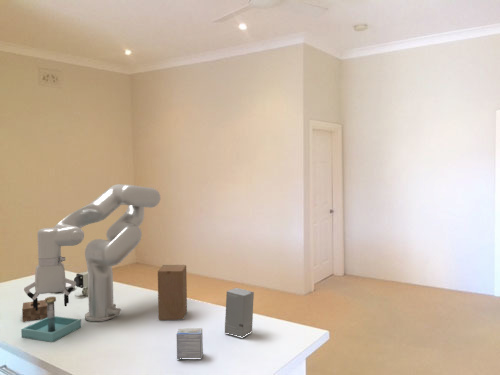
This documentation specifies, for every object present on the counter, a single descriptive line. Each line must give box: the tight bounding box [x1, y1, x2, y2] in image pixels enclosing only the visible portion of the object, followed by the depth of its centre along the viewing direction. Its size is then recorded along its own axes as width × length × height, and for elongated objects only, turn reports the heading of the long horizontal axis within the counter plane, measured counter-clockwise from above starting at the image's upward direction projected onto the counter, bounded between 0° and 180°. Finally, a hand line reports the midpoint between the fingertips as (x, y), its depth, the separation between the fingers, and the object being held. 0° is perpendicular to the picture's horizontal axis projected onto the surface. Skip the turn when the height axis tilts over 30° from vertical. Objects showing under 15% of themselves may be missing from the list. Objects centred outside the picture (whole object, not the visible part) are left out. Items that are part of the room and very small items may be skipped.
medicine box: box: [175, 327, 204, 360], centre depth 131 cm, size 8×4×9 cm, turn 92°
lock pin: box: [44, 296, 57, 332], centre depth 151 cm, size 4×4×12 cm
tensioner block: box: [21, 299, 47, 323], centre depth 168 cm, size 9×9×5 cm
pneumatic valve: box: [73, 269, 88, 297], centre depth 196 cm, size 6×12×12 cm, turn 144°
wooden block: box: [157, 264, 188, 321], centre depth 167 cm, size 10×10×20 cm
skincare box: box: [224, 287, 255, 337], centre depth 148 cm, size 8×7×16 cm
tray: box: [20, 315, 82, 343], centre depth 151 cm, size 14×14×3 cm
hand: (51, 307), depth 151 cm, fingers open, 9 cm apart
